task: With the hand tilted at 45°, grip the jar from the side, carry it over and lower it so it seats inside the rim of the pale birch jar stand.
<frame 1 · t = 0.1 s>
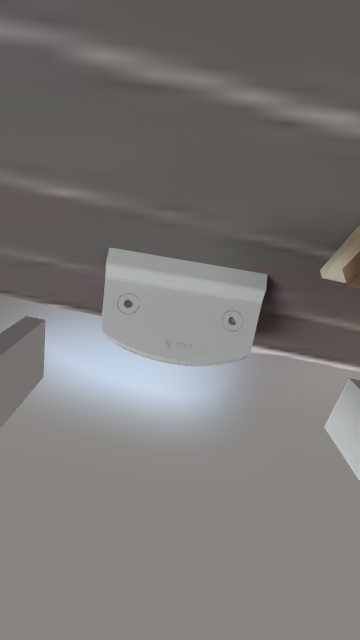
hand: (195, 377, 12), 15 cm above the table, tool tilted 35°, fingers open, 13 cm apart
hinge: (184, 283, 31), on the table
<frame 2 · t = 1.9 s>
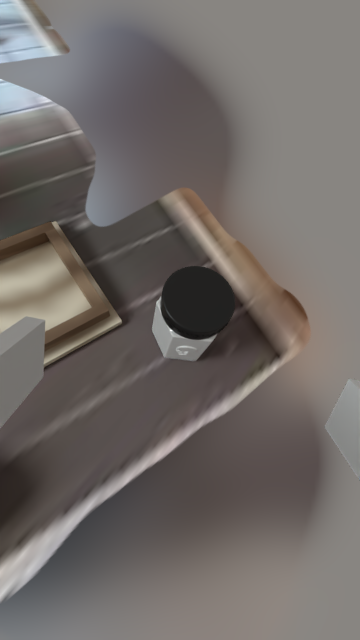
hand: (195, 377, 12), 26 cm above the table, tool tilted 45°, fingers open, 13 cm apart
jar stand: (26, 300, 39), on the table
jar: (181, 334, 41), on the table
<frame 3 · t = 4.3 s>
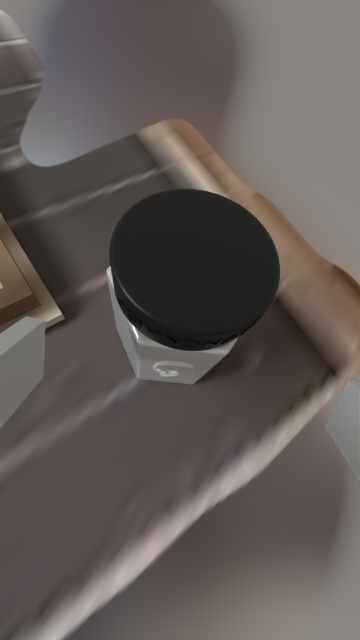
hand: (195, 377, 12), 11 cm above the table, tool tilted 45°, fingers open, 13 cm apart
jar: (169, 337, 24), on the table
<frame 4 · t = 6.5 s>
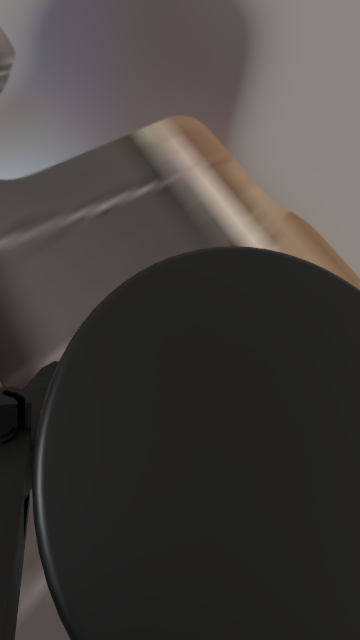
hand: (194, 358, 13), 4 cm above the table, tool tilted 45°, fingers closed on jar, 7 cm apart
jar: (176, 437, 16), on the table, touching gripper
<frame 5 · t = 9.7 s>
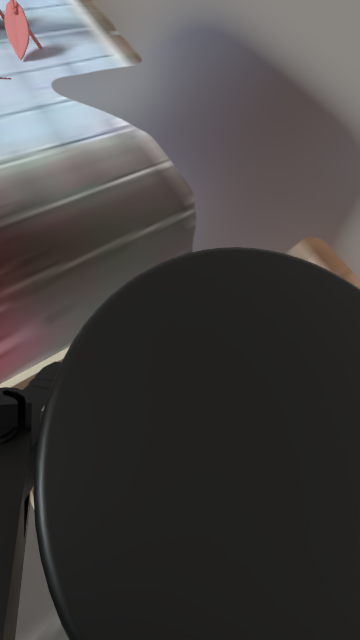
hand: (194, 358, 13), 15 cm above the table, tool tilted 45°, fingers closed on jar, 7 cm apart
jar stand: (134, 428, 26), on the table
jar: (177, 437, 16), point 11 cm above the table, touching gripper
when the fingers open (6 cm above the table, at t = 12.5 s): jar drops 1 cm, resting on jar stand.
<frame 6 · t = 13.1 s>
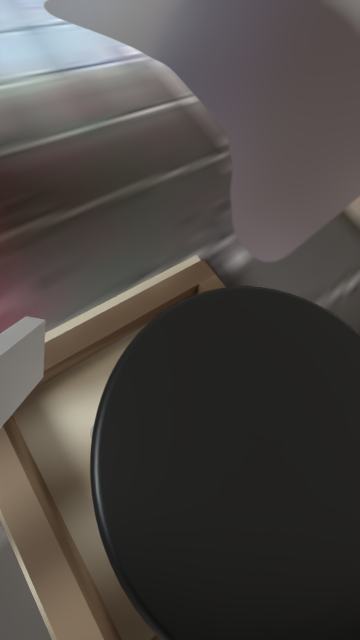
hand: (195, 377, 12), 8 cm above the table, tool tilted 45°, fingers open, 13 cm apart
jar stand: (168, 435, 18), on the table
jar: (186, 437, 17), point 1 cm above the table, touching jar stand
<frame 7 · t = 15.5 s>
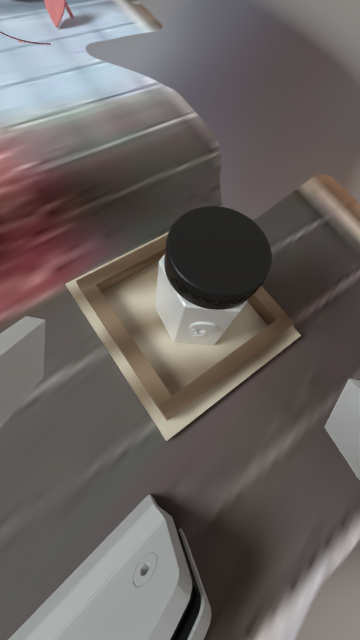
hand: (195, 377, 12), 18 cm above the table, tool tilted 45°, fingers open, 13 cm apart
jar stand: (183, 313, 32), on the table
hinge: (103, 612, 22), on the table
figurine: (27, 17, 52), on the table
jar: (193, 312, 32), point 1 cm above the table, touching jar stand
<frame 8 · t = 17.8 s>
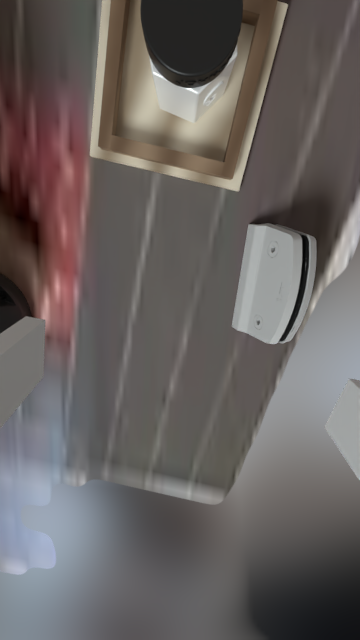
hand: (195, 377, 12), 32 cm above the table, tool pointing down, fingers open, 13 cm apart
jar stand: (180, 89, 34), on the table
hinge: (263, 280, 43), on the table
jar: (188, 80, 33), point 1 cm above the table, touching jar stand
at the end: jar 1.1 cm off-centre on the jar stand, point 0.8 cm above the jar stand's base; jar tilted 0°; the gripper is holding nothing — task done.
